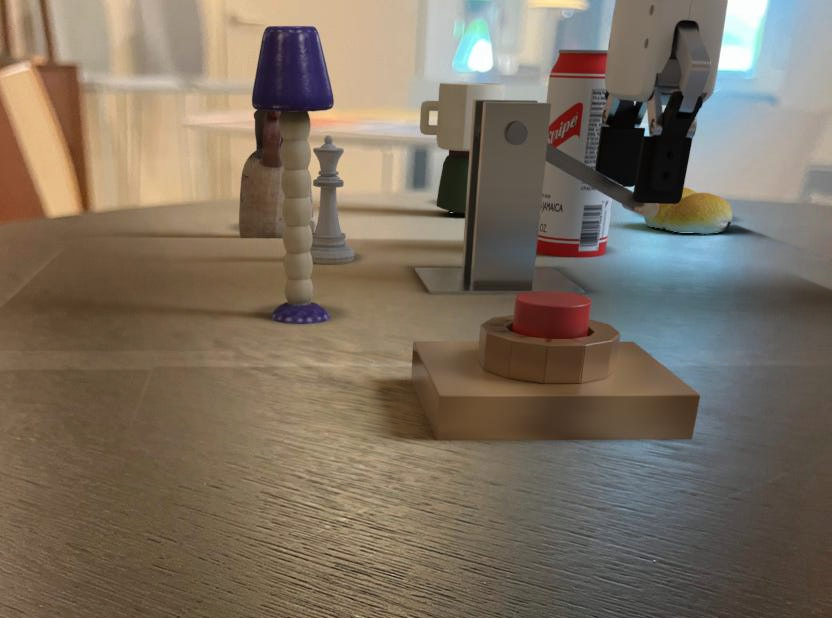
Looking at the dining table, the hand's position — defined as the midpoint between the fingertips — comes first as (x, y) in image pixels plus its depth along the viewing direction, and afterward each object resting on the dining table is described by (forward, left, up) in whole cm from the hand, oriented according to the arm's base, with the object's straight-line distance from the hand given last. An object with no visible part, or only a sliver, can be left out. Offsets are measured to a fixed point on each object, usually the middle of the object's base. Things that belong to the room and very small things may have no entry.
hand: (633, 193), depth 73 cm
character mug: (+4, -45, -7) cm, 46 cm away
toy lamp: (+24, +12, -7) cm, 28 cm away
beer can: (0, -14, -7) cm, 16 cm away
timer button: (+12, +28, -3) cm, 31 cm away
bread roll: (-18, -35, -7) cm, 40 cm away
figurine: (+25, -25, -7) cm, 36 cm away
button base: (+12, +28, -7) cm, 32 cm away
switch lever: (+5, 0, +1) cm, 5 cm away
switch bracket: (+9, 0, -7) cm, 12 cm away
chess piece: (+21, -9, -7) cm, 24 cm away
